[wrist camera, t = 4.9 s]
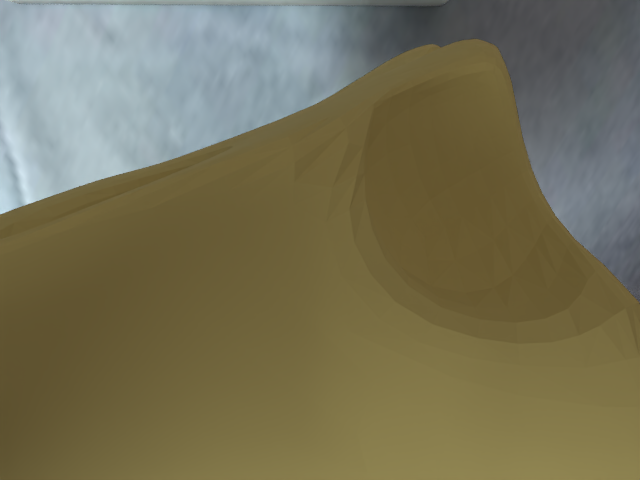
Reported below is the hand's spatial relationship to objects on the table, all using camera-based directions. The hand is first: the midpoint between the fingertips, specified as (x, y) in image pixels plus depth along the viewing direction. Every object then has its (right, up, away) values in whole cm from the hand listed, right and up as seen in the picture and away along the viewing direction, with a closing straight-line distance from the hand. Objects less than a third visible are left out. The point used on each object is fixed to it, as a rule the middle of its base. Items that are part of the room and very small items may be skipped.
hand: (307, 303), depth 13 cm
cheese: (0, +1, +2) cm, 2 cm away
